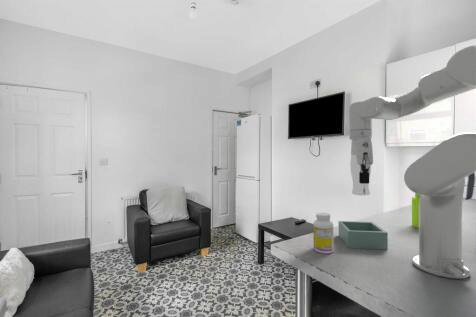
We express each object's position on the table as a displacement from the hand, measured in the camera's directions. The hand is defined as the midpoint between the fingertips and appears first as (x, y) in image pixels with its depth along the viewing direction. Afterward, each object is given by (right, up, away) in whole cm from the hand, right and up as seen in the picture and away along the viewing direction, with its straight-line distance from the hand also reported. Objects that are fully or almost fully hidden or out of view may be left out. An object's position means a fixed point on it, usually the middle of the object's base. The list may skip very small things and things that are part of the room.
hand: (360, 181), depth 89 cm
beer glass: (0, -5, 0) cm, 5 cm away
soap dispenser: (+37, -23, +18) cm, 46 cm away
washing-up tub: (0, -23, 0) cm, 23 cm away
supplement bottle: (-17, -24, -7) cm, 30 cm away
